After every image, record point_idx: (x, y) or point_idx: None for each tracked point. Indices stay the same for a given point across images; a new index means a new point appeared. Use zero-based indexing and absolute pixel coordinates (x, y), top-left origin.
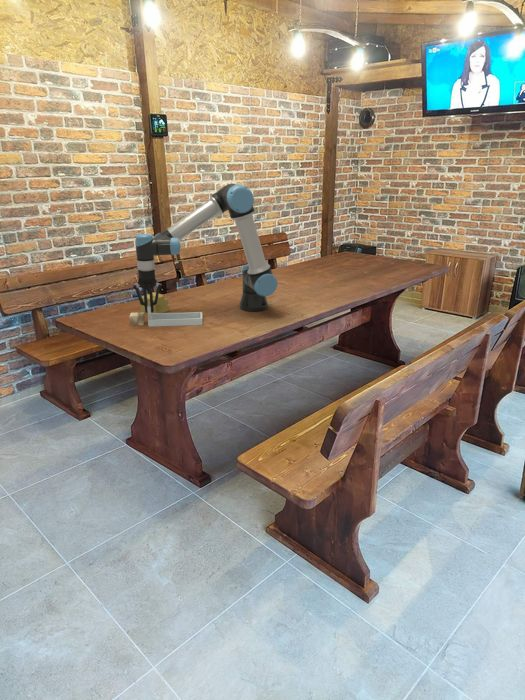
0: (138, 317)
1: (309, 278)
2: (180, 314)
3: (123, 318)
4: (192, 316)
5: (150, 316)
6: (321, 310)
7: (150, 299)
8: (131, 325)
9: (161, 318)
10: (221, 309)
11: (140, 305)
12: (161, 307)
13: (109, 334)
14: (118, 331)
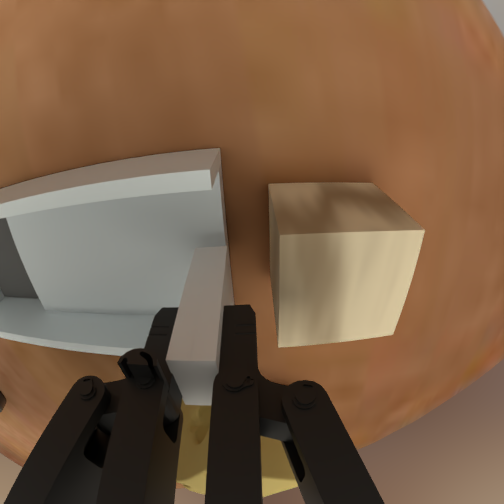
0: (329, 225)
1: (21, 452)
2: (37, 331)
3: (391, 356)
4: (2, 315)
5: (197, 267)
6: None
7: (138, 464)
8: (374, 191)
9: (150, 320)
10: (23, 392)
11: None
12: (188, 426)
13: (482, 89)
14: (444, 134)
